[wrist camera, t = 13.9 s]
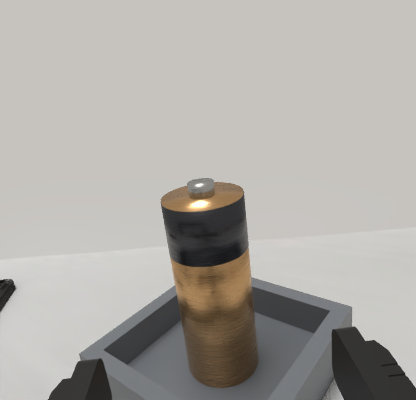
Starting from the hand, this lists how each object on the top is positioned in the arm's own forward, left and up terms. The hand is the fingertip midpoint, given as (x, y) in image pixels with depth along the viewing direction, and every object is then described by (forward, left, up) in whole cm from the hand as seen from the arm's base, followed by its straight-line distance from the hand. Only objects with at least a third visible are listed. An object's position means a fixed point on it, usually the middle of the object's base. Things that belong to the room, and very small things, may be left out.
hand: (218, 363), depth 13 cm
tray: (-5, +6, -8) cm, 12 cm away
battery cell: (-5, +6, -7) cm, 11 cm away
